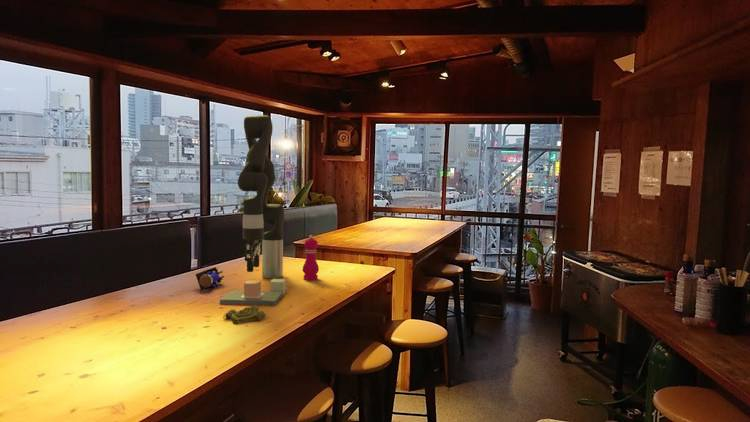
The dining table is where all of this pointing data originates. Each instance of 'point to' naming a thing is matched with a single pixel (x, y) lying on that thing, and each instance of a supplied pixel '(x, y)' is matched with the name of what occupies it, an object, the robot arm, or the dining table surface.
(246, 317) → the spaceship toy
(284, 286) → the sage block
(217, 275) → the character figurine
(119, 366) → the dining table surface
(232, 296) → the base plate
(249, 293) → the terracotta block
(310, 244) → the pepper mill
